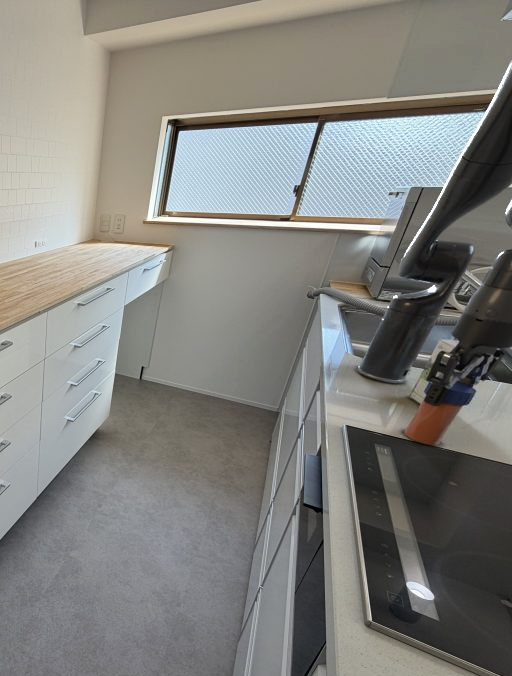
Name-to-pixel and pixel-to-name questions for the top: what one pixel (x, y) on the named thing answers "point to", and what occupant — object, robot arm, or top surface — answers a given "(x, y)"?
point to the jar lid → (457, 394)
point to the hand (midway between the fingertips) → (442, 402)
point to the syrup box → (421, 384)
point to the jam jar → (431, 422)
